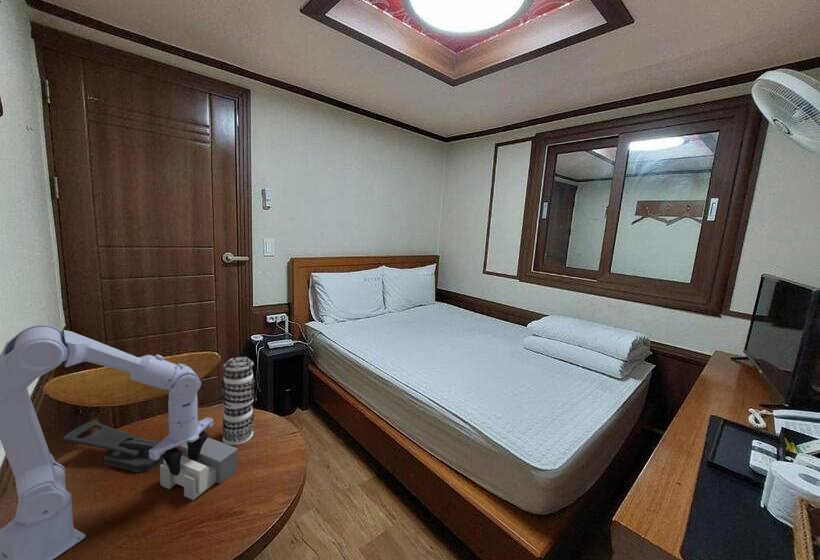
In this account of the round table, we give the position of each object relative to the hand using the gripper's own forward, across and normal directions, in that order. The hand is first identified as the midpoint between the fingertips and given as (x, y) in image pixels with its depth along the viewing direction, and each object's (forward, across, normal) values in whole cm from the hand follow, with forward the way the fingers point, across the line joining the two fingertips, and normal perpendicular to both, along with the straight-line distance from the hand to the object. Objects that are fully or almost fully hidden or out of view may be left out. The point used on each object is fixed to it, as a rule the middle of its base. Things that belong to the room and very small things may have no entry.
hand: (184, 467), depth 80 cm
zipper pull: (+6, 0, +25) cm, 26 cm away
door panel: (+4, 0, 0) cm, 4 cm away
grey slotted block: (+5, +4, 0) cm, 6 cm away
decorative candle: (+5, +20, +4) cm, 21 cm away
